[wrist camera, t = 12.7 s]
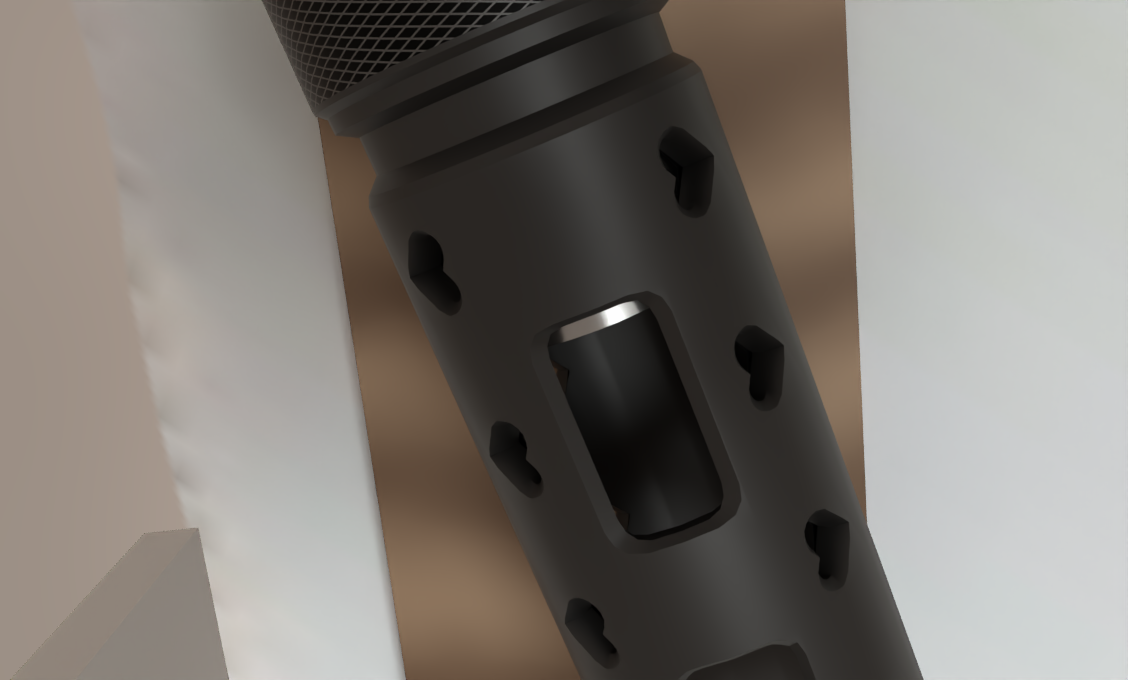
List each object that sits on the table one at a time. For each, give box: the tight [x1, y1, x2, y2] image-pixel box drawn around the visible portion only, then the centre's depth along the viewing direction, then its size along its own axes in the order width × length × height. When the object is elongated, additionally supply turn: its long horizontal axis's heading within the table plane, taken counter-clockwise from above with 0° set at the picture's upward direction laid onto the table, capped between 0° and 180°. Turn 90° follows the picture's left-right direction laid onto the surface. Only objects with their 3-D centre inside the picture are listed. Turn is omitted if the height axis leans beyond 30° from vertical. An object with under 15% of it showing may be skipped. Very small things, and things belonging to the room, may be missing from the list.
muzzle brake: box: [262, 0, 923, 680], centre depth 28 cm, size 10×28×10 cm, turn 22°
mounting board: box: [318, 0, 867, 680], centre depth 33 cm, size 36×16×4 cm, turn 6°
